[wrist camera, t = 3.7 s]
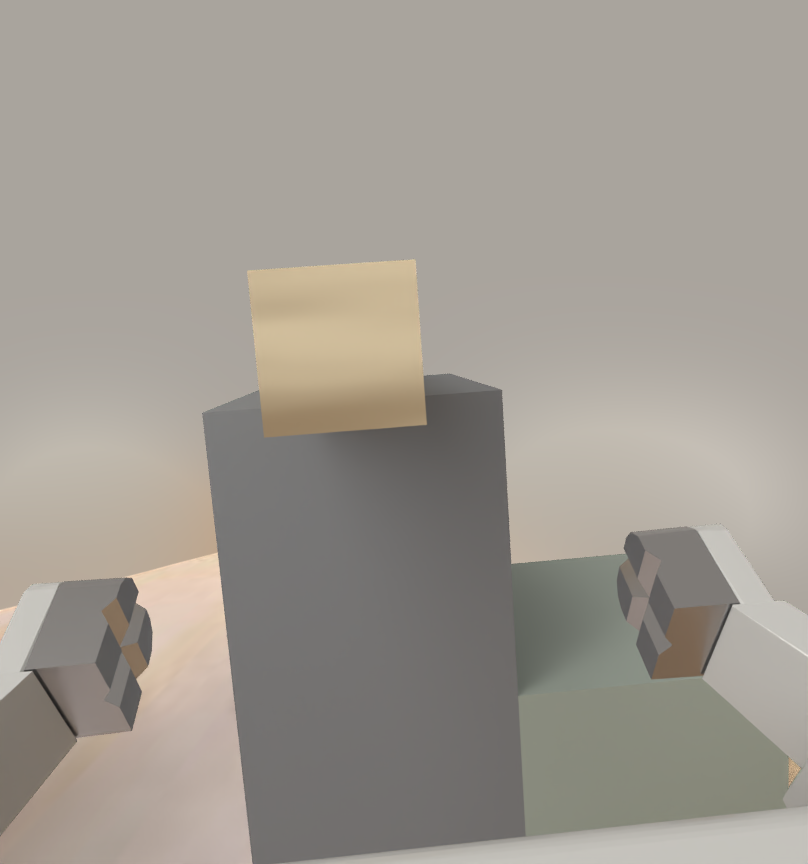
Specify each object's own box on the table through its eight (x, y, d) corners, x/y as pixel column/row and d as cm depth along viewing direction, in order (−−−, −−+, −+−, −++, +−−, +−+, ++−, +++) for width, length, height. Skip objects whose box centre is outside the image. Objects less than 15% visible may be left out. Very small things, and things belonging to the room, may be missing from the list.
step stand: (788, 1028, 26) (789, 367, 23) (278, 1091, 25) (202, 412, 22) (642, 793, 40) (630, 360, 37) (309, 829, 39) (265, 387, 36)
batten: (426, 424, 14) (415, 259, 14) (263, 437, 14) (247, 270, 14) (391, 380, 34) (386, 310, 34) (323, 385, 34) (317, 315, 34)
